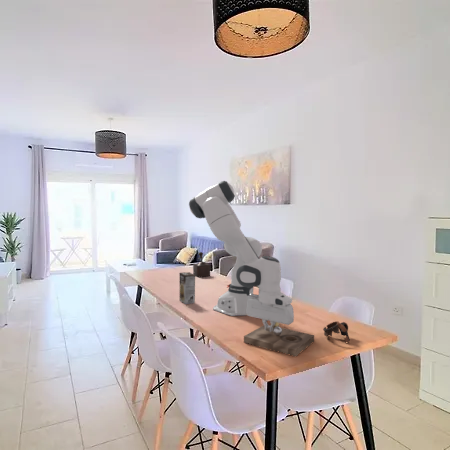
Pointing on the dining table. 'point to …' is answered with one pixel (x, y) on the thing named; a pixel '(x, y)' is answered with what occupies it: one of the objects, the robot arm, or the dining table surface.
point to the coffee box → (187, 287)
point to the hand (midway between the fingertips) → (268, 330)
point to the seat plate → (280, 340)
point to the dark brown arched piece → (337, 329)
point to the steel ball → (277, 331)
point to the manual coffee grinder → (201, 268)
